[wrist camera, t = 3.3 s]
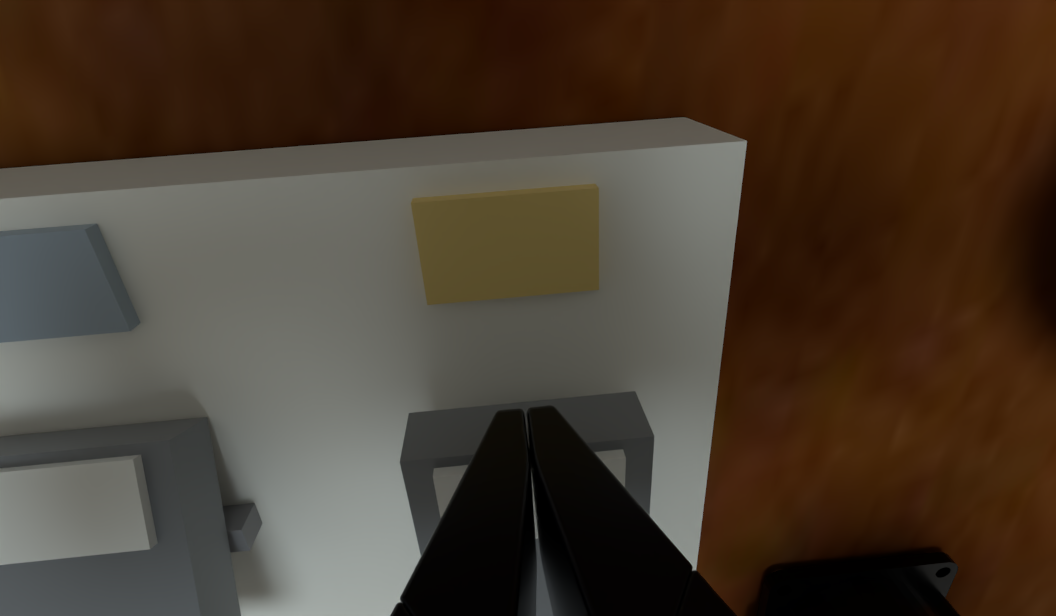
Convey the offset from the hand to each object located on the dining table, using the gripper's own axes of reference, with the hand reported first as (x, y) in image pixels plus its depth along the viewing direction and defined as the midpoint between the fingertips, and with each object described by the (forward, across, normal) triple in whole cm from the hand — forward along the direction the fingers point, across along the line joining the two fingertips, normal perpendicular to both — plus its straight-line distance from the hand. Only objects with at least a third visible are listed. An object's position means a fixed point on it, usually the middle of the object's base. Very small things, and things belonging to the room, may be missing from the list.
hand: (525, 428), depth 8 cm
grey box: (0, +8, +4) cm, 9 cm away
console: (+5, +8, +4) cm, 10 cm away
